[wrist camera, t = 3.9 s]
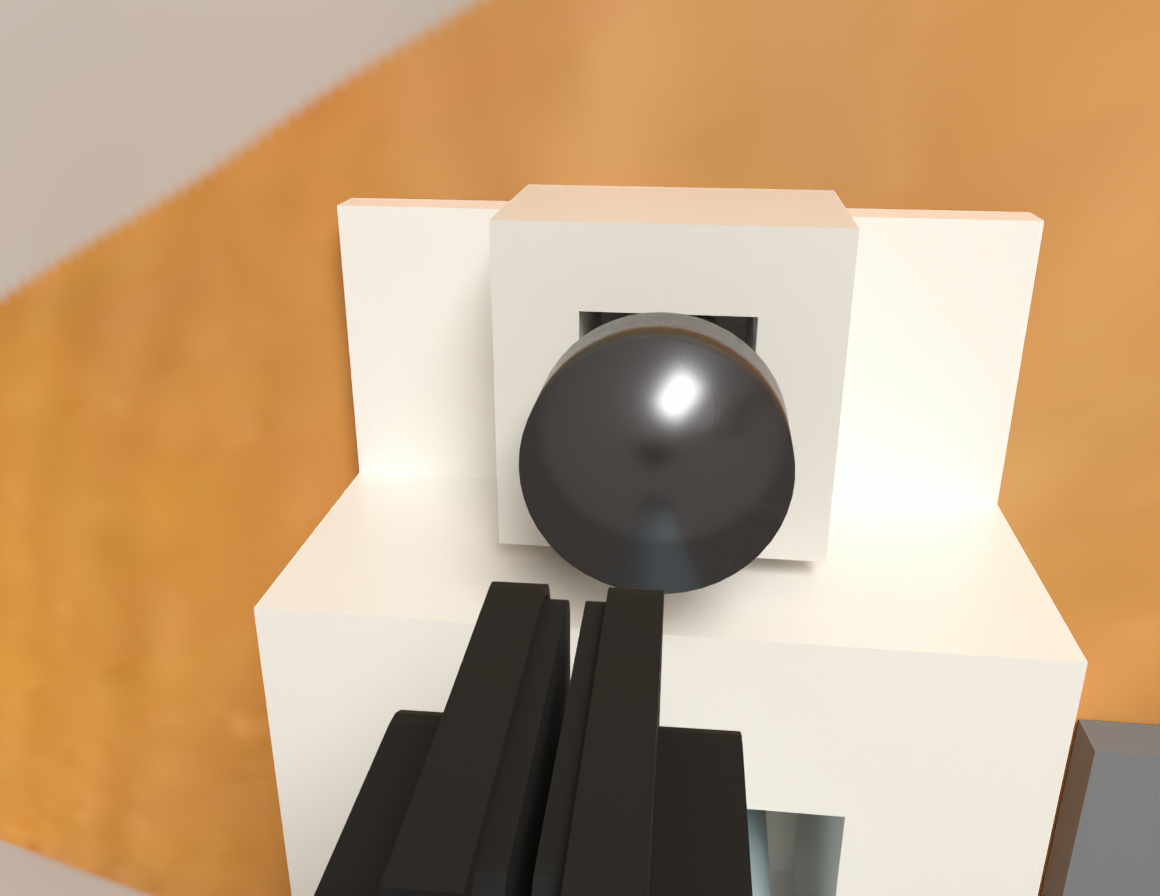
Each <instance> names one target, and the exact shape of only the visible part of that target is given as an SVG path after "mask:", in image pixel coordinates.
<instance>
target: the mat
mask: <svg viewBox="0 0 1160 896" xmlns="http://www.w3.org/2000/svg"><path fill="white" fill-rule="evenodd" d="M1041 896H1160V725H1147V724H1133V723H1119V722H1104V721H1090V720H1079V721H1078V726H1077V730H1076V735H1075V740H1074V744H1073V749H1072V753H1071V758H1070V763H1069V767H1068V772H1067V777H1066V781H1065V786H1064V790H1063V795H1062V800H1061V804H1060V809H1059V813H1058V818H1057V823H1056V827H1055V832H1054V837H1053V841H1052V846H1051V850H1050V855H1049V860H1048V864H1047V869H1046V873H1045V878H1044V883H1043V887H1042V892H1041Z"/></svg>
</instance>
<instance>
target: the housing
mask: <svg viewBox="0 0 1160 896" xmlns="http://www.w3.org/2000/svg"><path fill="white" fill-rule="evenodd" d="M337 211H338V223H339V234H340V246H341V258H342V270H343V282H344V294H345V306H346V318H347V330H348V342H349V353H350V365H351V377H352V389H353V401H354V413H355V425H356V437H357V449H358V461H359V472H360V473H359V474H358V475H357V476H356V478H355V479H354V480H353V482H352V483H351V484H350V485H349V487H348V488H347V489H346V490H345V492H344V493H343V494H342V496H341V497H340V498H339V499H338V501H337V502H336V503H335V505H334V506H333V507H332V508H331V510H330V511H329V512H328V514H327V515H326V516H325V517H324V519H323V520H322V521H321V523H320V524H319V525H318V526H317V528H316V529H315V530H314V532H313V533H312V534H311V535H310V537H309V538H308V539H307V541H306V542H305V543H304V544H303V546H302V547H301V548H300V549H299V551H298V552H297V553H296V555H295V556H294V557H293V558H292V560H291V561H290V562H289V564H288V565H287V566H286V567H285V569H284V570H283V571H282V573H281V574H280V575H279V576H278V578H277V579H276V580H275V582H274V583H273V584H272V585H271V587H270V588H269V589H268V591H267V592H266V593H265V594H264V596H263V597H262V598H261V600H260V601H259V602H258V603H257V605H256V606H255V607H254V614H255V622H256V629H257V637H258V645H259V652H260V660H261V667H262V675H263V682H264V690H265V698H266V705H267V713H268V720H269V728H270V735H271V743H272V750H273V758H274V766H275V773H276V781H277V788H278V796H279V803H280V811H281V819H282V826H283V834H284V841H285V849H286V856H287V864H288V872H289V879H290V887H291V894H292V896H314V894H315V892H316V889H317V887H318V885H319V883H320V880H321V878H322V876H323V873H324V871H325V869H326V867H327V864H328V862H329V860H330V857H331V855H332V853H333V851H334V848H335V846H336V844H337V842H338V839H339V837H340V835H341V832H342V830H343V828H344V826H345V823H346V821H347V819H348V816H349V814H350V812H351V810H352V807H353V805H354V803H355V800H356V798H357V796H358V794H359V791H360V789H361V787H362V785H363V782H364V780H365V778H366V775H367V773H368V771H369V769H370V766H371V764H372V762H373V759H374V757H375V755H376V753H377V750H378V748H379V746H380V743H381V741H382V739H383V737H384V734H385V732H386V730H387V728H388V725H389V723H390V721H391V720H392V718H393V716H394V714H395V713H396V712H398V711H399V710H415V711H430V712H444V709H445V706H446V704H447V701H448V698H449V695H450V693H451V690H452V687H453V685H454V682H455V679H456V676H457V674H458V671H459V668H460V665H461V663H462V660H463V657H464V655H465V652H466V649H467V646H468V644H469V641H470V638H471V635H472V633H473V630H474V627H475V625H476V622H477V619H478V616H479V614H480V611H481V608H482V606H483V603H484V600H485V597H486V595H487V592H488V589H489V586H490V585H491V583H492V582H493V581H499V582H518V583H537V584H548V585H549V589H550V599H562V600H569V602H570V680H571V675H572V669H573V664H574V659H575V654H576V648H577V643H578V638H579V633H580V628H581V622H582V617H583V612H584V607H585V602H586V601H599V602H606V599H607V592H608V588H609V587H613V586H610V585H608V584H605V583H602V582H600V581H598V580H596V579H594V578H592V577H590V576H588V575H586V574H584V573H583V572H581V571H580V570H578V569H577V568H575V567H574V566H572V565H571V564H570V563H568V562H567V561H566V560H565V559H564V558H562V557H561V556H560V555H559V554H558V553H557V552H556V551H555V550H554V549H553V548H552V547H551V546H550V545H549V543H548V542H547V541H546V540H545V538H544V537H543V536H542V534H541V533H540V531H539V530H538V529H537V527H536V525H535V523H534V521H533V519H532V518H531V516H530V514H529V511H528V508H527V506H526V503H525V501H524V497H523V493H522V489H521V485H520V476H519V450H520V445H521V439H522V434H523V431H524V428H525V425H526V423H527V420H528V417H529V415H530V413H531V411H532V409H533V406H534V404H535V402H536V400H537V398H538V396H539V394H540V391H541V389H542V387H543V385H544V383H545V381H546V379H547V377H548V375H549V373H550V371H551V370H552V368H553V367H554V366H555V364H556V363H557V361H558V360H559V358H560V357H561V356H562V355H563V354H564V353H565V352H566V351H567V350H568V349H569V348H570V347H571V346H572V345H573V344H574V343H575V342H577V341H578V340H579V339H580V338H582V337H583V336H584V335H586V334H587V333H589V332H591V331H592V330H594V329H595V328H597V327H599V326H601V325H604V324H606V323H608V322H610V321H613V320H616V319H619V318H622V317H626V316H629V315H633V314H634V313H652V312H668V313H678V314H684V315H710V316H713V317H714V319H715V320H716V322H717V324H718V326H720V327H722V328H724V329H726V330H728V331H730V332H731V333H733V334H734V335H735V336H737V337H738V338H740V339H741V340H743V341H744V342H745V343H746V344H747V345H748V346H749V347H750V348H752V349H753V350H754V351H755V352H756V353H757V354H758V356H759V357H760V358H761V359H762V360H763V362H764V363H765V364H766V365H767V367H768V368H769V370H770V371H771V373H772V375H773V376H774V378H775V379H776V382H777V384H778V386H779V388H780V391H781V393H782V396H783V399H784V403H785V406H786V410H787V415H788V421H789V427H790V432H791V438H792V444H793V450H794V458H795V483H794V490H793V496H792V500H791V503H790V506H789V509H788V512H787V515H786V517H785V519H784V521H783V523H782V525H781V527H780V529H779V530H778V532H777V533H776V535H775V536H774V538H773V540H772V541H771V542H770V543H769V545H768V546H767V547H766V548H765V549H764V550H763V551H762V553H761V554H760V555H759V556H758V557H756V558H755V559H754V560H753V561H752V562H751V563H750V564H748V565H747V566H746V567H744V568H743V569H741V570H740V571H738V572H737V573H735V574H734V575H732V576H730V577H728V578H726V579H724V580H722V581H720V582H718V583H715V584H713V585H710V586H707V587H704V588H701V589H697V590H692V591H688V592H682V593H673V594H664V613H663V641H662V668H661V696H660V723H659V726H666V727H682V728H697V729H713V730H729V731H740V732H741V735H742V743H743V757H744V772H745V787H746V802H747V809H754V810H766V824H767V840H768V856H769V872H770V888H771V896H1038V892H1039V887H1040V882H1041V878H1042V873H1043V868H1044V864H1045V859H1046V855H1047V850H1048V845H1049V841H1050V836H1051V831H1052V827H1053V822H1054V817H1055V813H1056V808H1057V803H1058V799H1059V794H1060V789H1061V785H1062V780H1063V776H1064V771H1065V766H1066V762H1067V757H1068V752H1069V748H1070V743H1071V738H1072V734H1073V729H1074V724H1075V720H1076V715H1077V710H1078V706H1079V701H1080V697H1081V692H1082V687H1083V683H1084V678H1085V673H1086V669H1087V664H1088V662H1087V660H1086V659H1085V657H1084V655H1083V653H1082V652H1081V650H1080V648H1079V646H1078V645H1077V643H1076V641H1075V640H1074V638H1073V636H1072V634H1071V633H1070V631H1069V629H1068V627H1067V626H1066V624H1065V622H1064V620H1063V619H1062V617H1061V615H1060V613H1059V612H1058V610H1057V608H1056V606H1055V605H1054V603H1053V601H1052V599H1051V598H1050V596H1049V594H1048V592H1047V591H1046V589H1045V587H1044V585H1043V584H1042V582H1041V580H1040V578H1039V577H1038V575H1037V573H1036V571H1035V570H1034V568H1033V566H1032V565H1031V563H1030V561H1029V559H1028V558H1027V556H1026V554H1025V552H1024V551H1023V549H1022V547H1021V545H1020V544H1019V542H1018V540H1017V538H1016V537H1015V535H1014V533H1013V531H1012V530H1011V528H1010V526H1009V524H1008V523H1007V521H1006V519H1005V517H1004V516H1003V514H1002V512H1001V510H1000V509H999V507H998V505H997V502H998V496H999V490H1000V484H1001V478H1002V472H1003V466H1004V460H1005V454H1006V448H1007V442H1008V436H1009V430H1010V424H1011V418H1012V412H1013V406H1014V400H1015V394H1016V388H1017V382H1018V376H1019V370H1020V364H1021V358H1022V352H1023V346H1024V340H1025V334H1026V328H1027V322H1028V316H1029V310H1030V304H1031V298H1032V292H1033V286H1034V280H1035V273H1036V267H1037V261H1038V255H1039V249H1040V243H1041V237H1042V231H1043V225H1044V221H1043V220H1042V219H1040V218H1039V217H1037V216H1035V215H1034V214H1032V213H1031V212H1000V211H952V210H905V209H858V208H845V206H844V205H843V203H842V202H841V200H840V199H839V197H838V196H837V194H836V193H835V191H834V190H788V189H736V188H685V187H633V186H582V185H530V184H528V185H527V186H526V187H525V188H524V189H523V190H522V191H521V192H520V193H518V194H517V195H516V196H515V197H514V198H513V199H512V200H511V201H480V200H433V199H386V198H351V199H349V200H347V201H345V202H343V203H341V204H339V205H337ZM615 588H616V587H615Z"/></svg>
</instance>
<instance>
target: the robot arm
mask: <svg viewBox="0 0 1160 896" xmlns="http://www.w3.org/2000/svg"><path fill="white" fill-rule="evenodd" d="M663 613H664V590H653V589H634V588H615V587H609V588H608V592H607V599H606V602H599V601H586V602H585V607H584V612H583V617H582V622H581V628H580V633H579V638H578V643H577V648H576V654H575V659H574V664H573V669H572V675H571V680H570V602H569V600H562V599H550V589H549V585H548V584H537V583H518V582H499V581H493V582H492V583H491V585H490V586H489V589H488V592H487V595H486V597H485V600H484V603H483V606H482V608H481V611H480V614H479V616H478V619H477V622H476V625H475V627H474V630H473V633H472V635H471V638H470V641H469V644H468V646H467V649H466V652H465V655H464V657H463V660H462V663H461V665H460V668H459V671H458V674H457V676H456V679H455V682H454V685H453V687H452V690H451V693H450V695H449V698H448V701H447V704H446V706H445V709H444V712H430V711H415V710H399V711H398V712H396V713H395V714H394V716H393V718H392V720H391V721H390V723H389V725H388V728H387V730H386V732H385V734H384V737H383V739H382V741H381V743H380V746H379V748H378V750H377V753H376V755H375V757H374V759H373V762H372V764H371V766H370V769H369V771H368V773H367V775H366V778H365V780H364V782H363V785H362V787H361V789H360V791H359V794H358V796H357V798H356V800H355V803H354V805H353V807H352V810H351V812H350V814H349V816H348V819H347V821H346V823H345V826H344V828H343V830H342V832H341V835H340V837H339V839H338V842H337V844H336V846H335V848H334V851H333V853H332V855H331V857H330V860H329V862H328V864H327V867H326V869H325V871H324V873H323V876H322V878H321V880H320V883H319V885H318V887H317V889H316V892H315V894H314V896H753V893H752V878H751V863H750V848H749V833H748V818H747V802H746V787H745V772H744V757H743V743H742V735H741V732H740V731H729V730H713V729H697V728H682V727H666V726H659V723H660V696H661V668H662V641H663Z"/></svg>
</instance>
